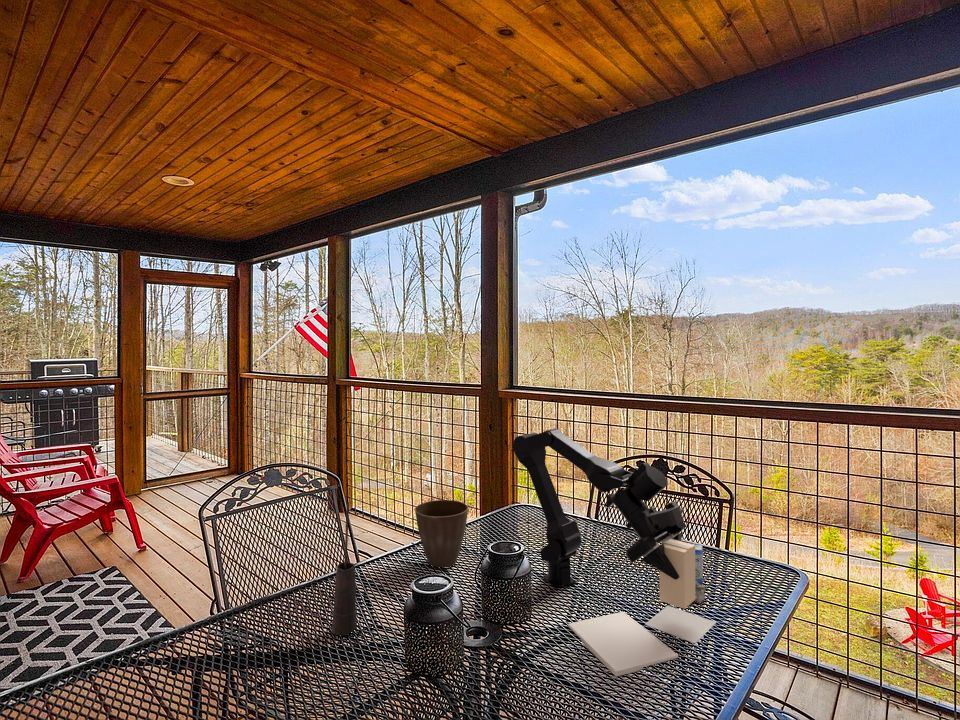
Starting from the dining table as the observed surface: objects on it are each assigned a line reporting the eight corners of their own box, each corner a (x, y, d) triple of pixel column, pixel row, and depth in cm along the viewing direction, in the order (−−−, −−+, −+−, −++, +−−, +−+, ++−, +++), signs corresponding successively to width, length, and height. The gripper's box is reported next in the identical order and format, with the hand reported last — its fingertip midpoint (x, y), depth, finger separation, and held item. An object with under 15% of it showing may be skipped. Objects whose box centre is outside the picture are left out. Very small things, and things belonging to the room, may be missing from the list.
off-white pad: (568, 628, 116) (568, 623, 116) (623, 615, 121) (623, 611, 121) (616, 676, 99) (616, 671, 99) (678, 660, 104) (678, 654, 104)
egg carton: (708, 606, 125) (708, 589, 125) (676, 606, 125) (676, 589, 125) (692, 585, 135) (692, 569, 135) (663, 585, 136) (662, 570, 135)
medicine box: (669, 579, 138) (669, 546, 138) (670, 572, 142) (670, 540, 142) (703, 584, 135) (702, 550, 135) (702, 577, 139) (702, 544, 139)
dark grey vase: (342, 650, 109) (338, 514, 108) (310, 638, 114) (306, 508, 113) (373, 629, 117) (370, 502, 116) (342, 618, 122) (338, 496, 121)
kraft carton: (659, 600, 116) (659, 545, 116) (670, 591, 120) (670, 538, 120) (684, 608, 113) (684, 551, 112) (695, 599, 116) (695, 544, 116)
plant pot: (479, 559, 153) (478, 504, 153) (449, 579, 141) (447, 519, 140) (437, 549, 161) (436, 497, 161) (405, 568, 149) (403, 511, 148)
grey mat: (644, 626, 116) (644, 624, 116) (667, 607, 124) (667, 605, 124) (695, 645, 108) (695, 643, 108) (716, 624, 116) (716, 622, 116)
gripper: (639, 502, 112) (691, 569, 104) (678, 483, 125) (727, 542, 118) (606, 530, 118) (653, 596, 110) (646, 510, 131) (691, 567, 124)
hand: (683, 574), depth 115 cm, fingers closed on kraft carton, 5 cm apart
